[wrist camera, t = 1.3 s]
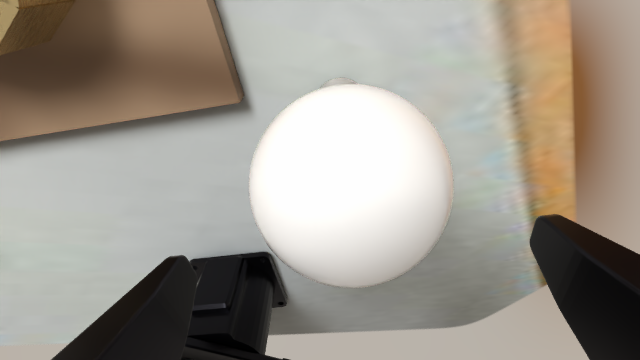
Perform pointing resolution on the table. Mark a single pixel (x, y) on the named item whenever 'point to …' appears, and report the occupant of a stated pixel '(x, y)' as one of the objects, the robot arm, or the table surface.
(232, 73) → the socket base
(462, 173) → the table surface
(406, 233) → the lightbulb
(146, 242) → the table surface
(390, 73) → the table surface
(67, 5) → the socket collar
